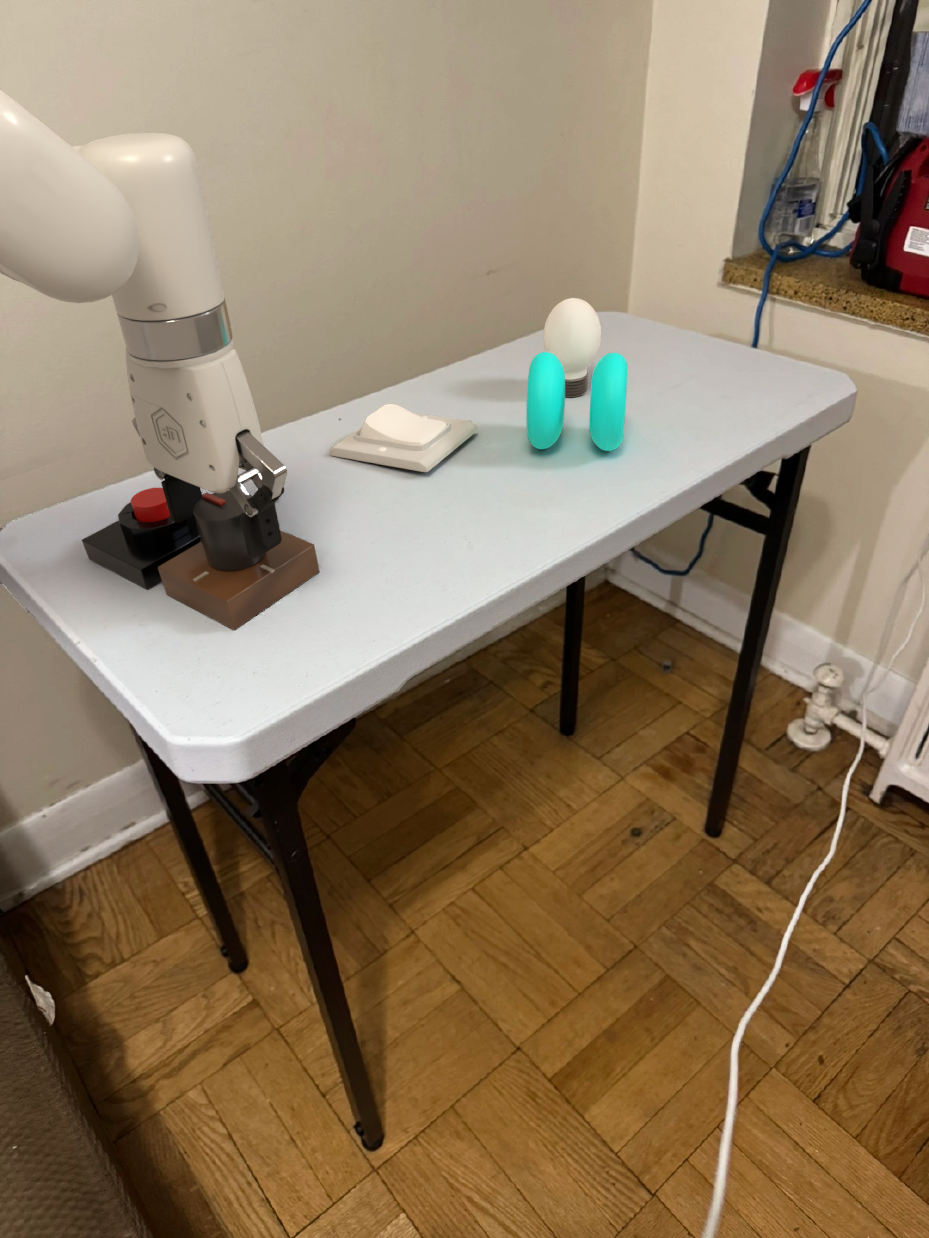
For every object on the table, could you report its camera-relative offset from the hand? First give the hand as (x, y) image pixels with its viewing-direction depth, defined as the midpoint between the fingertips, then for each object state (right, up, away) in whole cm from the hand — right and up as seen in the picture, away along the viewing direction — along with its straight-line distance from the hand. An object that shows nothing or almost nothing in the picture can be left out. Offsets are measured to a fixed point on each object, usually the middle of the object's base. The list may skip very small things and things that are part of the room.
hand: (226, 532), depth 73 cm
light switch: (+13, +12, +23) cm, 29 cm away
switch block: (-8, 0, +9) cm, 12 cm away
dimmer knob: (0, -2, +2) cm, 2 cm away
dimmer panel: (+1, -4, +4) cm, 6 cm away
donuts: (+32, +12, +21) cm, 40 cm away
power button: (-8, +2, +7) cm, 11 cm away
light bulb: (+33, +20, +33) cm, 51 cm away
